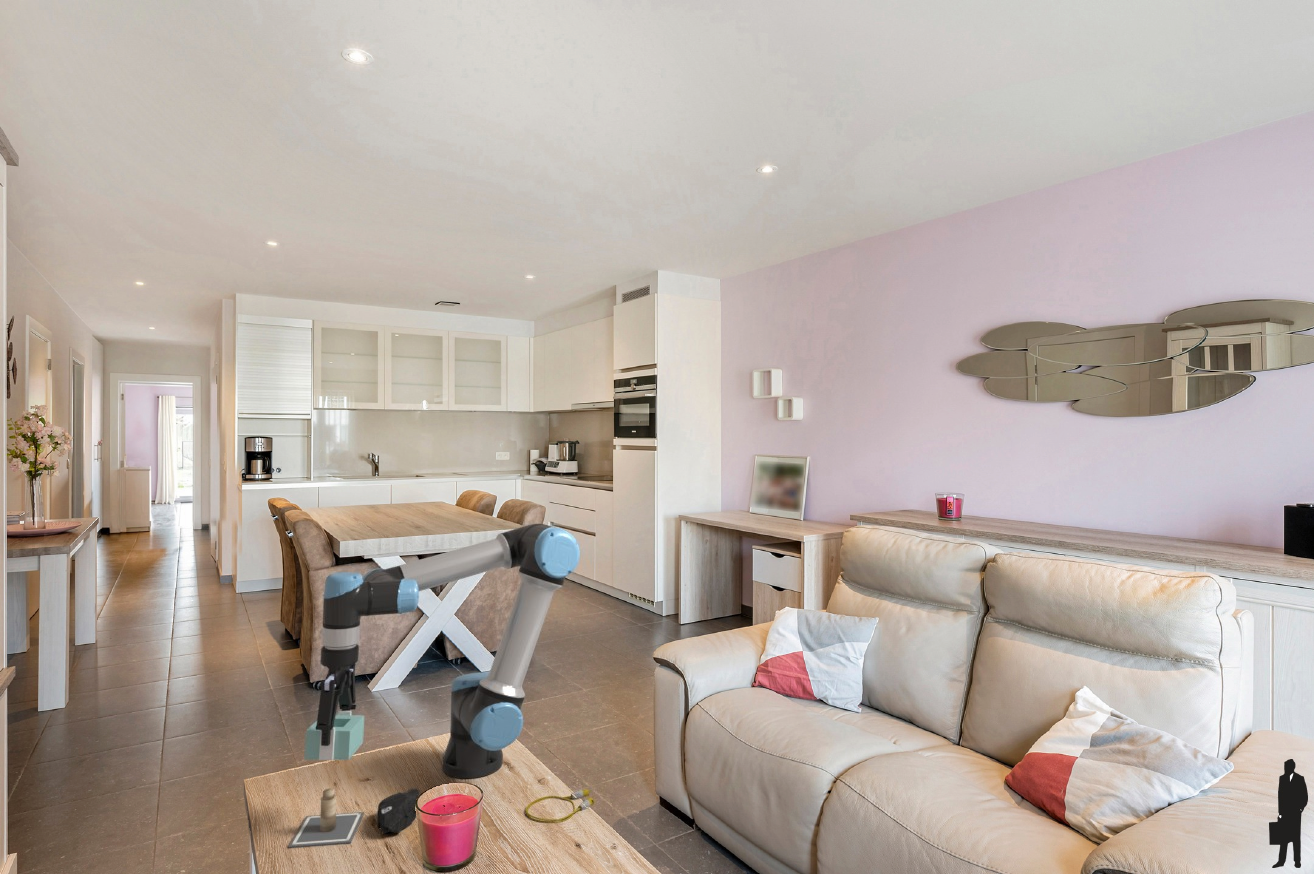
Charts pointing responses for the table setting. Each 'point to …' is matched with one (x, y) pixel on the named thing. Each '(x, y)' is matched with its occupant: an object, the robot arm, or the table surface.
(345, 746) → the block with square hole
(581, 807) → the extension cord
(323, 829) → the post
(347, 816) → the mat
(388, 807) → the rock
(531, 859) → the table surface
